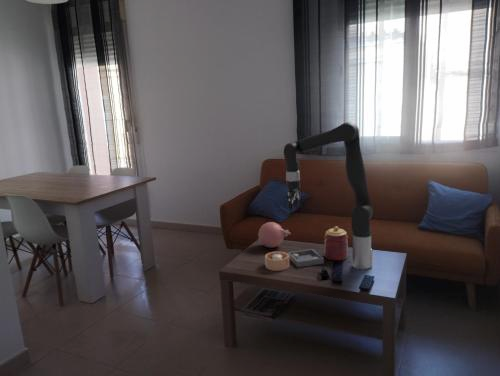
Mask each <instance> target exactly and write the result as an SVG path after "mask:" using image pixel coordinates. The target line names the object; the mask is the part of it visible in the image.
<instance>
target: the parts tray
mask: <svg viewBox="0 0 500 376" xmlns="http://www.w3.org/2000/svg"><path fill="white" fill-rule="evenodd" d="M287 254H288V255H289V261H291V263H293V264H294V265H295V267H297V268H301V267H309V266H316V265H323V264H325V258H324V257H323V256H322V255H320V253H318V252H317V251H316V250H315V249H313V248H310V249H304V250H297V251H296V250H295V251H288V252H287ZM293 254H298V259H296V258H295V257H294V256H293ZM313 257H318V258H317V259H313Z"/></svg>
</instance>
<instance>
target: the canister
mask: <svg viewBox="0 0 500 376" xmlns="http://www.w3.org/2000/svg"><path fill="white" fill-rule="evenodd" d="M323 238H324V239H325V240H324V257H325V258H326V259H327V260H329V261H330V260H331V261H344V260H346V259H347V258H348V257H349V247H348V246H349V241H348V239H349V236H348V235H347V231H346V230H345V229H342V228H339V226H336V225H335V226H334V227H333V228H329V229H328V230H326V231H325V235H324V237H323Z"/></svg>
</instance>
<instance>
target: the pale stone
mask: <svg viewBox="0 0 500 376" xmlns="http://www.w3.org/2000/svg"><path fill="white" fill-rule="evenodd" d="M272 257H273V260H280V259H282V255H280V254H274V255H273V256H272Z"/></svg>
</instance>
